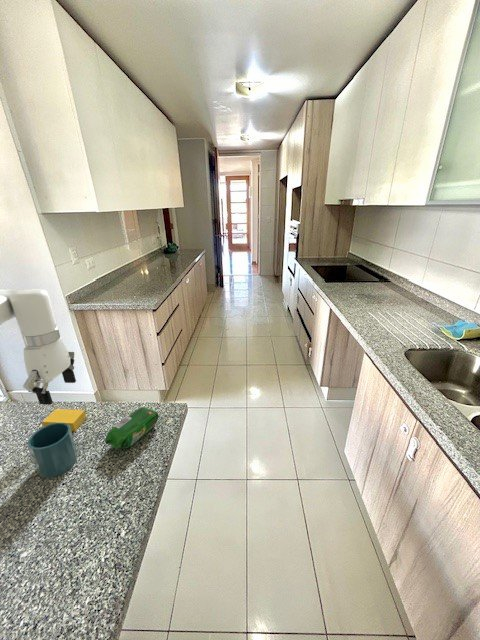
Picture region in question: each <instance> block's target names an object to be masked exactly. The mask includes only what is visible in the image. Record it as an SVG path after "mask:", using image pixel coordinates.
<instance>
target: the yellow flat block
mask: <svg viewBox="0 0 480 640" xmlns="http://www.w3.org/2000/svg"><path fill="white" fill-rule="evenodd" d="M86 419H87V414H86V410H85V409H63V408H55V409H54V410H52V412H51V413H49V415H48V416H47V417H46V418H45V419H44V420H42V427H45V426H47V425H50V424H54V423H66V424H68V425H69V426H70V429H71V432H76V431H77V430H78V429H79V428H80V427H81V426H82V424H83V423H84V422H85V421H86Z"/></svg>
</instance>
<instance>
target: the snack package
mask: <svg viewBox="0 0 480 640" xmlns="http://www.w3.org/2000/svg"><path fill="white" fill-rule="evenodd" d="M159 417H160V415H159V413H158V412H157V411H156V410H154V409H151V408H148V407H144V406H141V407H139V408H137V409H135V410H134V411H133V412H131V413H130V414H129V415H127V416H126V417H124V418H123V419H121V421H119V422H117V424H115V425H113V427H111V429H110V430H109V431H108V433H107V434H106V436H105V440H104V444H106V445H110V446H112V447H113V448H114V449H115V451H114V453H116V454H118V453H119V452H120V451H121V450H122V449H128V448H130V447H132V446H133V445H134V444H136V443H137V442H138V441H139V440H140V439H142V438H143V437H144V436H145V435H146V434H147V433H148V432H149V431H150V430H152V429H153V428H154V427H155V426H156V425H157V423H158V420H159Z"/></svg>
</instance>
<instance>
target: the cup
mask: <svg viewBox="0 0 480 640" xmlns="http://www.w3.org/2000/svg"><path fill="white" fill-rule="evenodd" d="M72 432H73V431H71V429H70V426H69V425H68V424H66V423H54V424H50V425H47V426H45V427H44V426H42V427H41V428H40V429H38V430H36V431H35V432H34V433H33V434H32V435H31V436H29V439H28V440H27V446H28V450H29V452H30V455H31V458H32V460H33V464H34V465H35V469H36V471H37V474H38V475H39V477H41V478H42V479H53V478H56V477H60V476H61V475H63V474H65V473H67V472H68V471H70V470H71V469H72V468H73V467H74V465H76V463H77V461H78V458H79V457H78V455H79V453H78V451H77V447H76V443H75V439H74V437H73V433H72Z"/></svg>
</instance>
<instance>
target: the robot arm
mask: <svg viewBox="0 0 480 640" xmlns="http://www.w3.org/2000/svg"><path fill="white" fill-rule="evenodd" d="M52 305H53V304H52V302H51V297H50V296H49V293H48V292H47V290H45V289H44V288H43V289H42V288H29V289H28V288H27V289H22V290H19V289H6V288H5V289H4V288H3V289H1V288H0V326H1V325H3V324H4V323H6V322H7V321H10V320H12V319H14V318H15V319H16V322H17V325H18V329H19V331H20V334H21V337H22V340H23V343H24V346H25V347H23V362H24V366H25V367H24V368H25V370H26V373H27V379H26V380H25V382H24V384H23V385H22V387H23V389H24V390H26V391H27V392H28V393H31V394H32V393H33V394H35V395H36V397H37V400H38V403H39V405H47V406H48V405H50V406H51V405H52V404H53V402H54V401H53V398H52V396H51V392H50V391H49V390H48V387H49V383H50V382H52V381H53V380H54V379H56V378H57V377H59V376H60V375H61V374H62V378H63V381H64V383H66V384H76V382H77V380H76V376H75V372H74V370H75V366H74V364H75V359H74V358H75V352H74V351H68V348H67V346H66V343H65V341H64V339H63V338H62V336H61V334H60V330H59V327H58V323H57V320H56V315H55V312H54V309H53V306H52ZM41 385H42V386H41ZM40 386H41V387H40Z"/></svg>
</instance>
